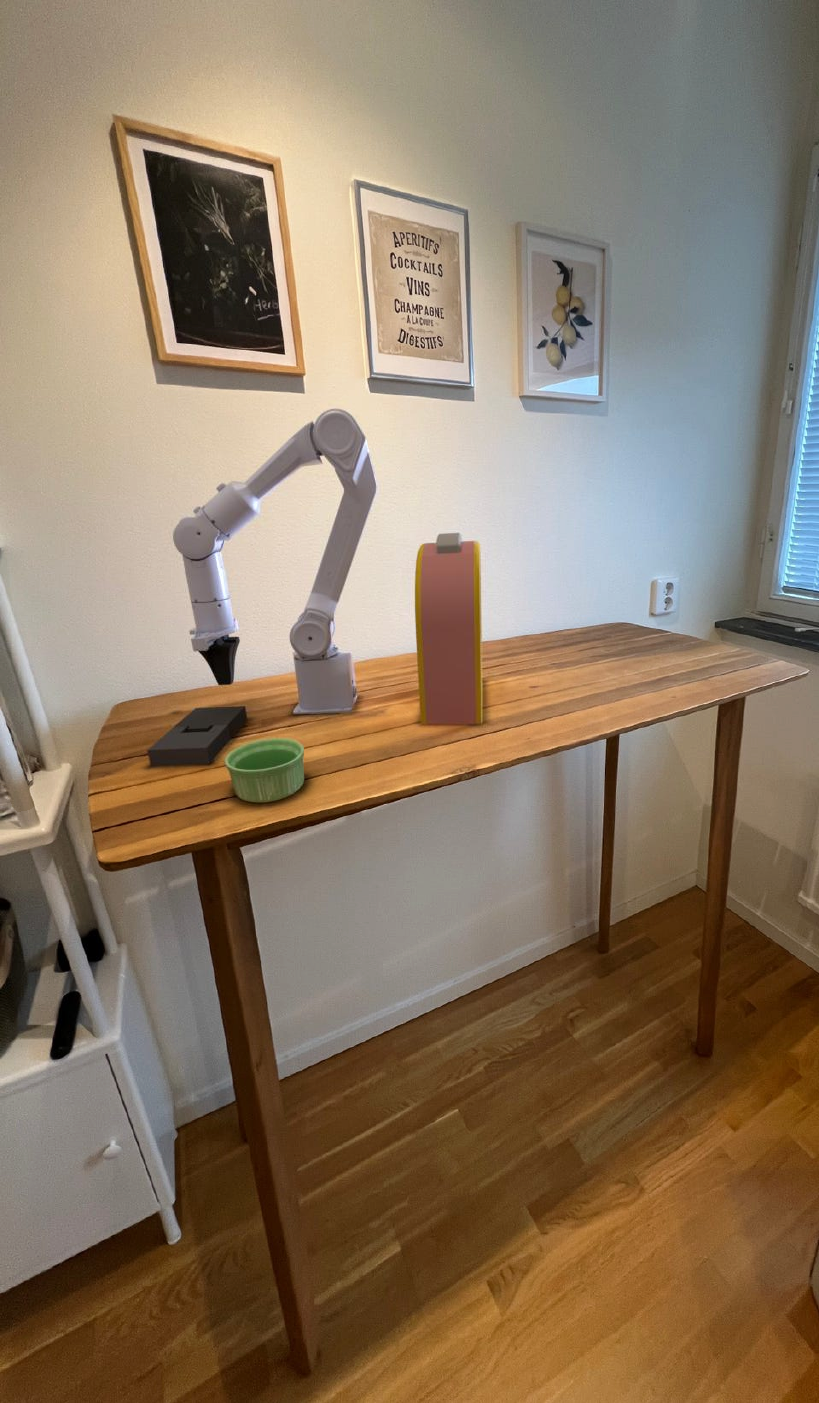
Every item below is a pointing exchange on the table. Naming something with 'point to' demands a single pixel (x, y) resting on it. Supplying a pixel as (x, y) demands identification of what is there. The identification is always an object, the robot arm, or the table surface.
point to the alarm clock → (449, 630)
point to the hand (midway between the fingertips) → (226, 683)
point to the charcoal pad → (188, 746)
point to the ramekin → (266, 769)
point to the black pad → (214, 719)
